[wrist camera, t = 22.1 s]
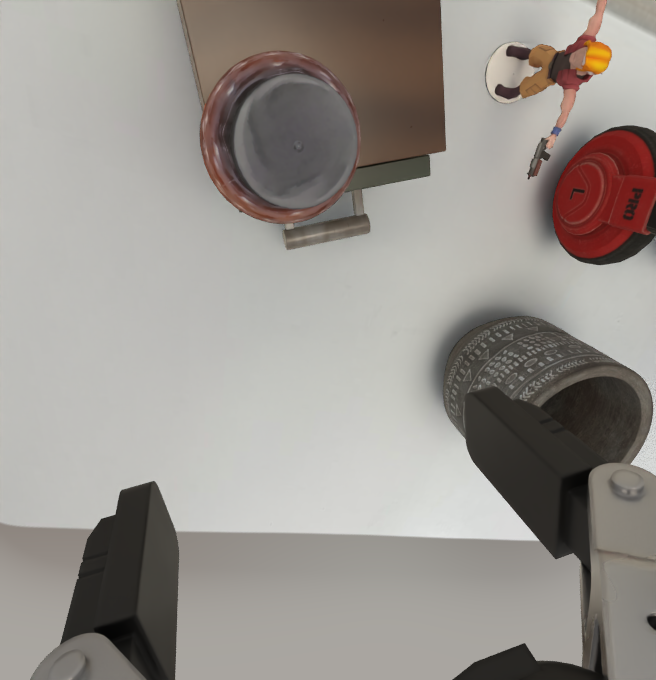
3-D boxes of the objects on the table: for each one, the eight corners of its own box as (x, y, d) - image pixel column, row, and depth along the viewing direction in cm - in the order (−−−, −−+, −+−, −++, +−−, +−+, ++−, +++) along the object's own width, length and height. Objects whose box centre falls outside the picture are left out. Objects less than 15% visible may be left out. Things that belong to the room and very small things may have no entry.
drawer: (393, 220, 37) (434, 239, 31) (243, 250, 35) (254, 278, 29) (369, -67, 30) (415, -119, 23) (176, -47, 28) (171, -97, 21)
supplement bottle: (336, 144, 26) (424, 157, 16) (257, 221, 27) (293, 279, 17) (260, 44, 24) (307, -15, 14) (173, 131, 24) (157, 137, 14)
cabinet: (390, 144, 36) (446, 150, 28) (217, 176, 34) (224, 192, 26) (369, -116, 29) (433, -205, 21) (153, -96, 27) (136, -187, 19)
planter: (489, 435, 50) (576, 527, 38) (400, 389, 45) (470, 479, 33) (566, 338, 47) (684, 406, 36) (481, 278, 42) (586, 334, 31)
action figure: (499, 175, 39) (581, 190, 31) (467, 168, 38) (544, 181, 30) (553, 1, 35) (666, -38, 26) (519, -12, 34) (625, -55, 25)
